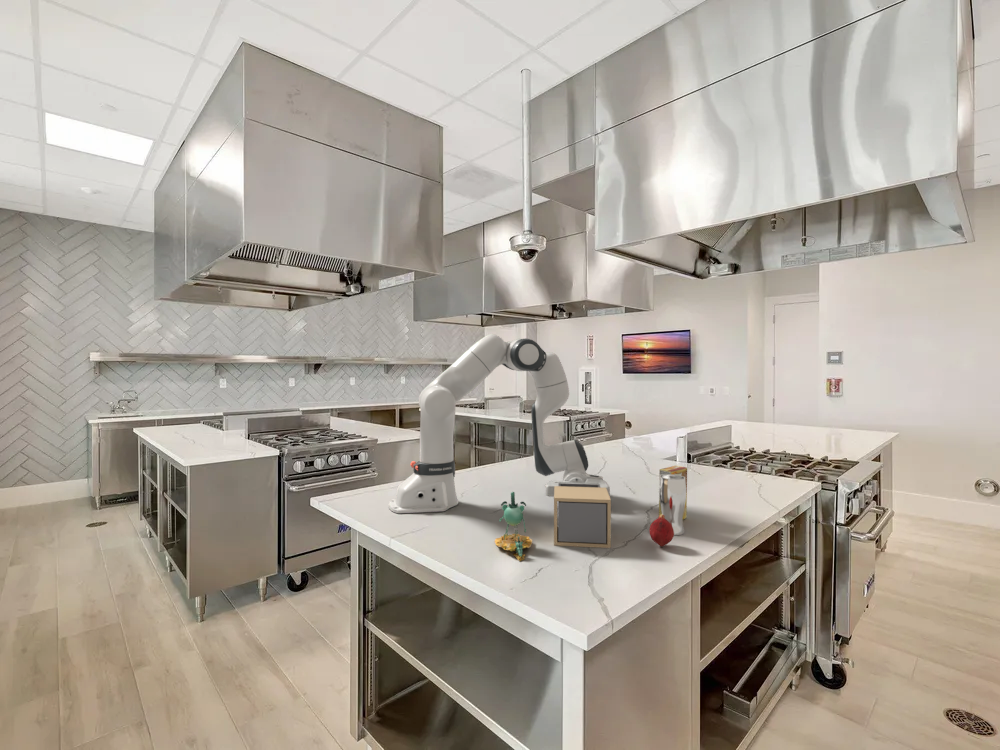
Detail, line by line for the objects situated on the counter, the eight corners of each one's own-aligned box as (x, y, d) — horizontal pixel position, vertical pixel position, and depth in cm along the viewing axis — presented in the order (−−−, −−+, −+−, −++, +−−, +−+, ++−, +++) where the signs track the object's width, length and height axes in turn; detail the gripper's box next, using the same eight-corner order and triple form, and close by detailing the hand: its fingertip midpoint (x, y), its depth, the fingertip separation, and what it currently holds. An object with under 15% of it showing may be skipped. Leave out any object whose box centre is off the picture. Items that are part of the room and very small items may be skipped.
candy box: (674, 515, 143) (674, 464, 143) (687, 518, 139) (687, 467, 139) (658, 521, 137) (658, 468, 137) (671, 524, 134) (671, 471, 134)
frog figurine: (489, 561, 109) (489, 496, 110) (497, 541, 127) (497, 486, 128) (531, 562, 108) (530, 496, 109) (533, 542, 126) (532, 486, 127)
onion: (670, 552, 113) (671, 519, 113) (646, 548, 117) (646, 515, 116) (675, 545, 118) (676, 513, 118) (652, 540, 121) (652, 509, 121)
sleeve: (554, 529, 130) (554, 486, 130) (605, 531, 128) (606, 487, 128) (553, 545, 118) (554, 497, 118) (610, 548, 117) (610, 499, 116)
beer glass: (689, 531, 129) (690, 476, 128) (679, 537, 123) (679, 481, 123) (665, 525, 133) (665, 472, 133) (654, 531, 128) (654, 476, 128)
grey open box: (558, 516, 138) (558, 483, 138) (599, 518, 136) (599, 484, 136) (558, 541, 118) (558, 502, 118) (606, 543, 117) (606, 504, 117)
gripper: (545, 474, 158) (543, 484, 144) (607, 476, 156) (611, 486, 142) (545, 493, 158) (543, 505, 145) (607, 495, 156) (611, 507, 142)
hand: (578, 496), depth 143 cm, fingers closed
